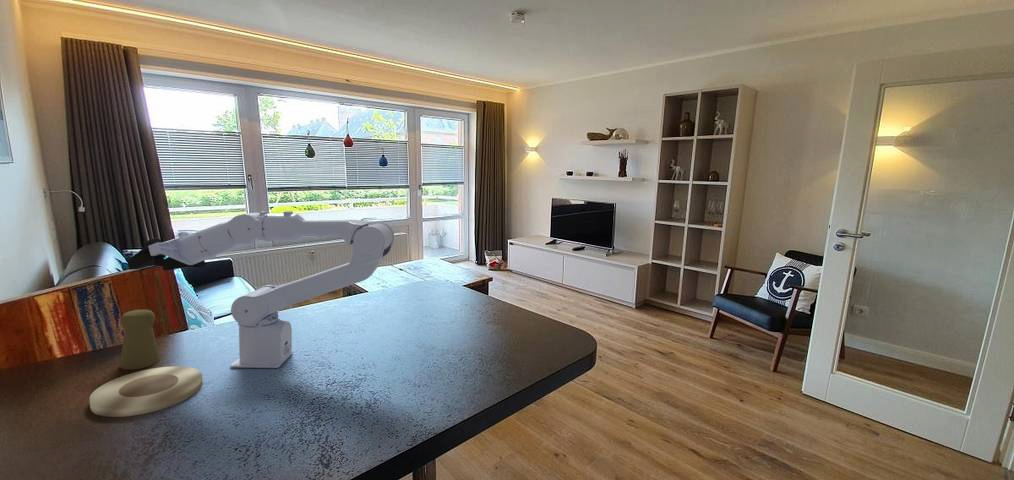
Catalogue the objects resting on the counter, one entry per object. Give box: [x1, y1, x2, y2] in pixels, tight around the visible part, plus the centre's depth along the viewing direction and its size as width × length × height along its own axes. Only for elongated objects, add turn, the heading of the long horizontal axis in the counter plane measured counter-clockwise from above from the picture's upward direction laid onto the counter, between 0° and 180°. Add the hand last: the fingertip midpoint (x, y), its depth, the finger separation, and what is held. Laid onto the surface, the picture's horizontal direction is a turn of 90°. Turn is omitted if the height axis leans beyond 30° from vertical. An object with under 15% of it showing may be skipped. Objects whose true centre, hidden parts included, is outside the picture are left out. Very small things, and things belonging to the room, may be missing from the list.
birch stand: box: [88, 365, 203, 418], centre depth 72 cm, size 15×15×2 cm
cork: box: [119, 309, 161, 370], centre depth 82 cm, size 6×6×11 cm
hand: (147, 265), depth 83 cm, fingers open, 7 cm apart
